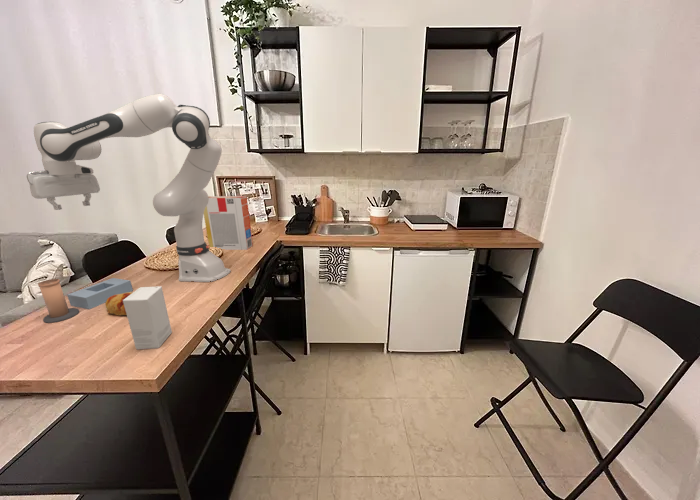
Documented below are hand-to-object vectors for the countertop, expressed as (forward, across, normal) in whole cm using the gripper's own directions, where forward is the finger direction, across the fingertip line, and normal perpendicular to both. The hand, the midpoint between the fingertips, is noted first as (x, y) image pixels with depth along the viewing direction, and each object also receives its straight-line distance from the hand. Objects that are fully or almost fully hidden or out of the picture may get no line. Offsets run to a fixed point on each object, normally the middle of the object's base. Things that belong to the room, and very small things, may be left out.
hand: (73, 207), depth 112 cm
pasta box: (+34, +64, -16) cm, 74 cm away
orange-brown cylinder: (+33, -20, -12) cm, 40 cm away
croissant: (+34, -10, -30) cm, 47 cm away
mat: (+34, -20, -12) cm, 41 cm away
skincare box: (+34, -22, -57) cm, 70 cm away
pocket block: (+34, -6, -12) cm, 36 cm away
